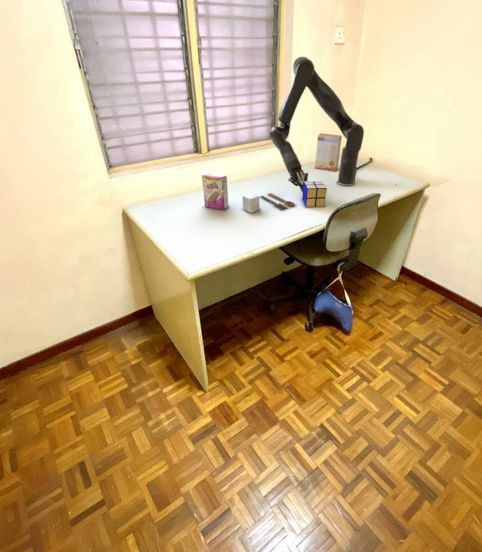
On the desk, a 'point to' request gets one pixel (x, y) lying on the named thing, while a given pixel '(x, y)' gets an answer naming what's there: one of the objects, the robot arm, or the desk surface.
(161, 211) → the desk surface
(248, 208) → the product box
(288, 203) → the salad spoon
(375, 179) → the desk surface
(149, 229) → the desk surface
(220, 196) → the candy bar box
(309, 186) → the puzzle cube
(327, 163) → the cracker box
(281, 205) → the salad fork
